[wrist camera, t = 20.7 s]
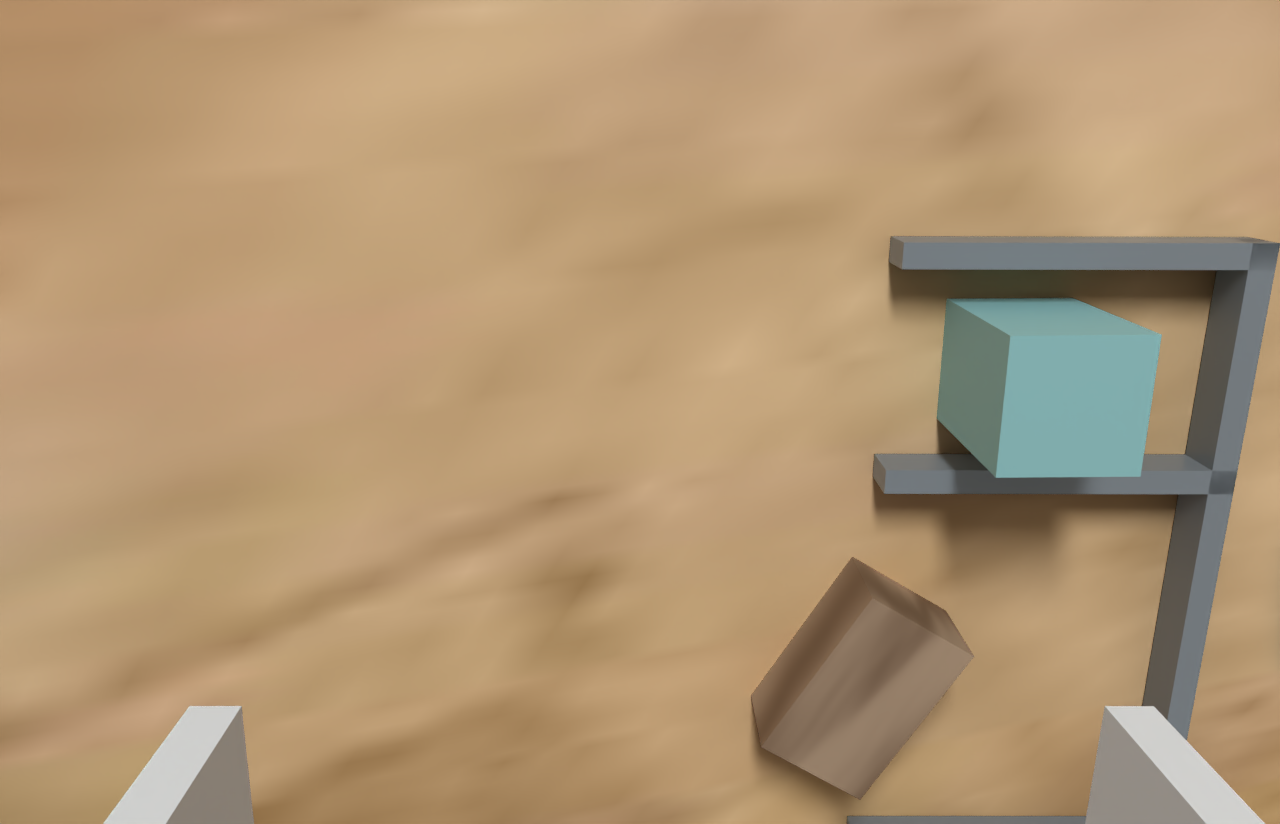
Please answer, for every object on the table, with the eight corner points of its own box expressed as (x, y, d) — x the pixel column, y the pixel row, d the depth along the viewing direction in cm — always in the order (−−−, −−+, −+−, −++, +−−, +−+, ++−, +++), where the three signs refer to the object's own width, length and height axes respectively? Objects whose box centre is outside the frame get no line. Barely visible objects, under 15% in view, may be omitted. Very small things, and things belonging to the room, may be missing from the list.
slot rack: (845, 833, 46) (854, 864, 44) (890, 236, 38) (904, 242, 36) (1141, 834, 46) (1163, 864, 44) (1247, 237, 38) (1280, 243, 36)
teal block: (936, 418, 41) (995, 477, 34) (946, 298, 39) (1010, 335, 32) (1057, 417, 41) (1140, 476, 34) (1071, 297, 39) (1161, 334, 32)
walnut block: (841, 741, 45) (750, 692, 44) (944, 608, 43) (851, 554, 42) (860, 799, 41) (761, 747, 41) (974, 656, 39) (872, 598, 39)
